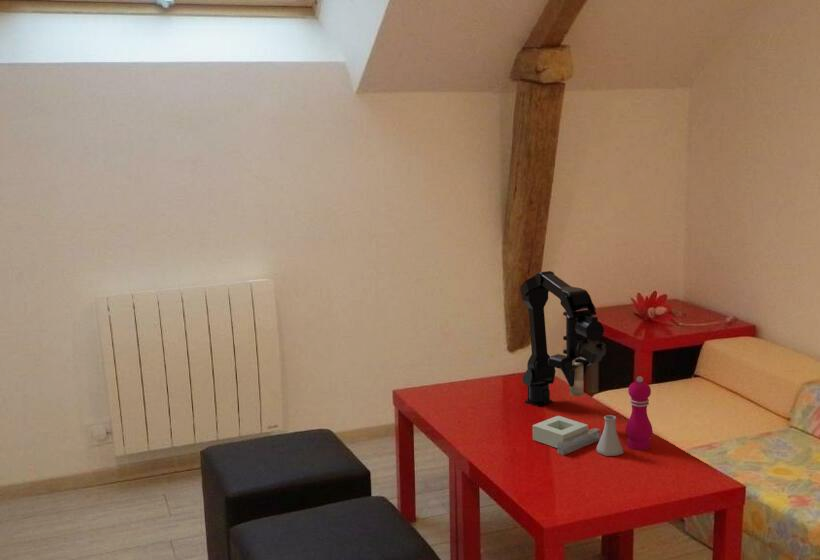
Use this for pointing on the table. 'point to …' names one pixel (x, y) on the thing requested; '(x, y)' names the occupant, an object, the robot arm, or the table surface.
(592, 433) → the bar
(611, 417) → the flask
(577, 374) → the dowel
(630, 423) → the pepper mill
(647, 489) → the table surface
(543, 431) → the block
